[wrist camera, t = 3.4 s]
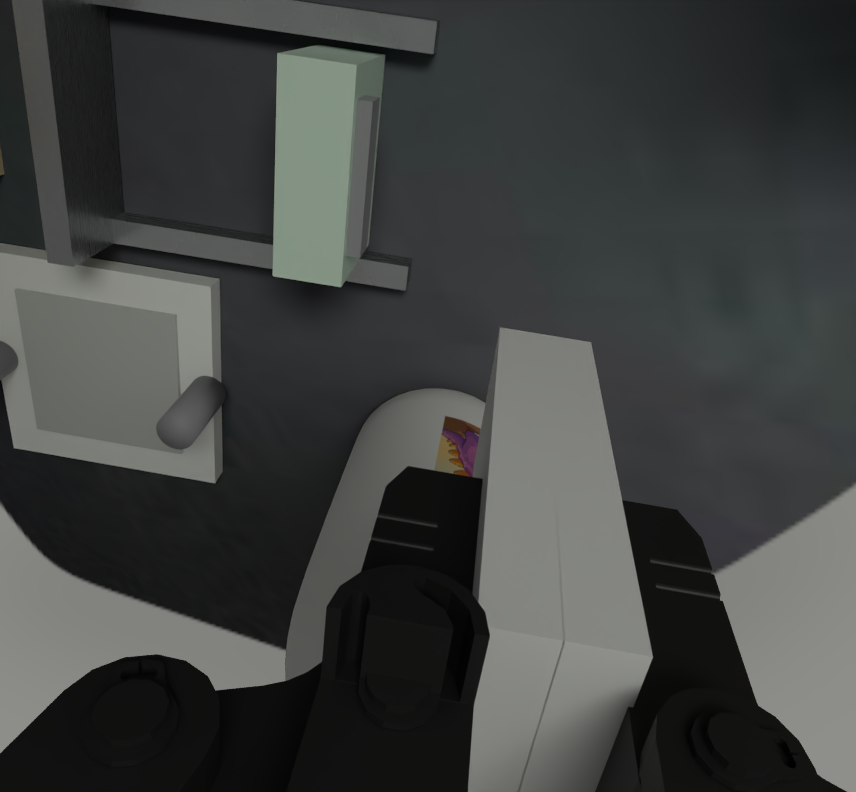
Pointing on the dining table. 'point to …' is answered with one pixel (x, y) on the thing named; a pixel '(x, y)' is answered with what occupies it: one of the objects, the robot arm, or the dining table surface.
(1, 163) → the block
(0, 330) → the seat plate
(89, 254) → the housing frame
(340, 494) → the milk bottle
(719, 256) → the dining table surface
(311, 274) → the cover
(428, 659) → the robot arm
